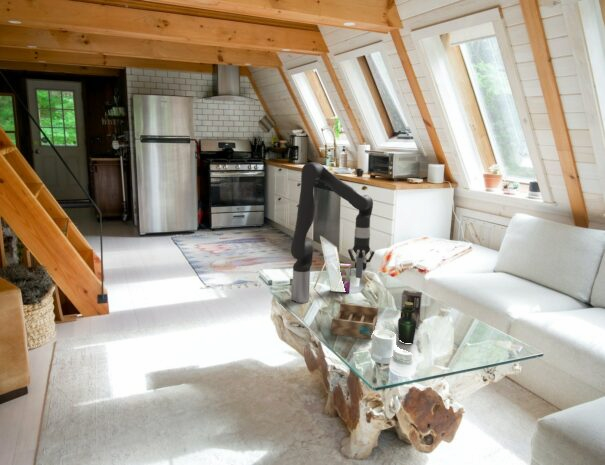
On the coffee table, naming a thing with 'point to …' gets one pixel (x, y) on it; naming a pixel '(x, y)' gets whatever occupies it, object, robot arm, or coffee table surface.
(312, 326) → the coffee table surface
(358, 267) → the panel
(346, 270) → the candy bar box
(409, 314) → the potion bottle
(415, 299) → the coffee box
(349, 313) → the rack
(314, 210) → the robot arm
